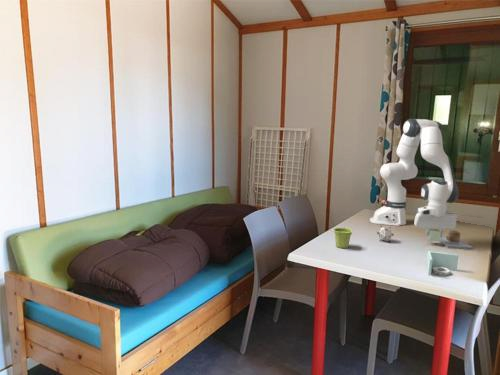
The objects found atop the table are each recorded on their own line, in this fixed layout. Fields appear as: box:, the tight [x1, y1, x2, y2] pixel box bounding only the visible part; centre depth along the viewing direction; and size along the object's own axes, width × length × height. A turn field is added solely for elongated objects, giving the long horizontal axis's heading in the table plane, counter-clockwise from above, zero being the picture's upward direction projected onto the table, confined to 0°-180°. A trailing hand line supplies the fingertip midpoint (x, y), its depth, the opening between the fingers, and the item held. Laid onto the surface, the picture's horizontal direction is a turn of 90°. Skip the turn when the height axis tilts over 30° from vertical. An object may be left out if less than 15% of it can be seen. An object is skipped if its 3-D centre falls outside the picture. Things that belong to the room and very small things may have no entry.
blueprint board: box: [439, 235, 473, 251], centre depth 206 cm, size 12×20×1 cm, turn 172°
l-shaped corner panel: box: [426, 250, 460, 277], centre depth 162 cm, size 12×12×8 cm
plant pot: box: [333, 227, 353, 249], centre depth 195 cm, size 9×9×9 cm
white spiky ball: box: [376, 225, 395, 243], centre depth 206 cm, size 9×8×10 cm
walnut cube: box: [445, 229, 461, 242], centre depth 205 cm, size 5×5×5 cm
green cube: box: [426, 228, 442, 242], centre depth 202 cm, size 5×5×5 cm
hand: (433, 236), depth 202 cm, fingers closed on green cube, 5 cm apart
